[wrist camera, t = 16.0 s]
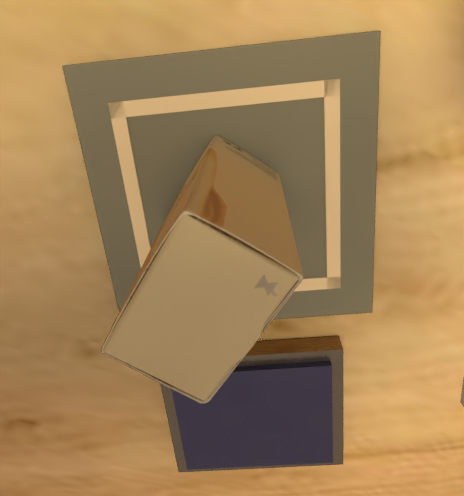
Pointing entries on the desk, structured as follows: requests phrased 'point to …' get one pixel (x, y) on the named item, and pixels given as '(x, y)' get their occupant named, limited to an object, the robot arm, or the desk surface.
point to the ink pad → (266, 411)
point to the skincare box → (210, 276)
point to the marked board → (248, 139)
